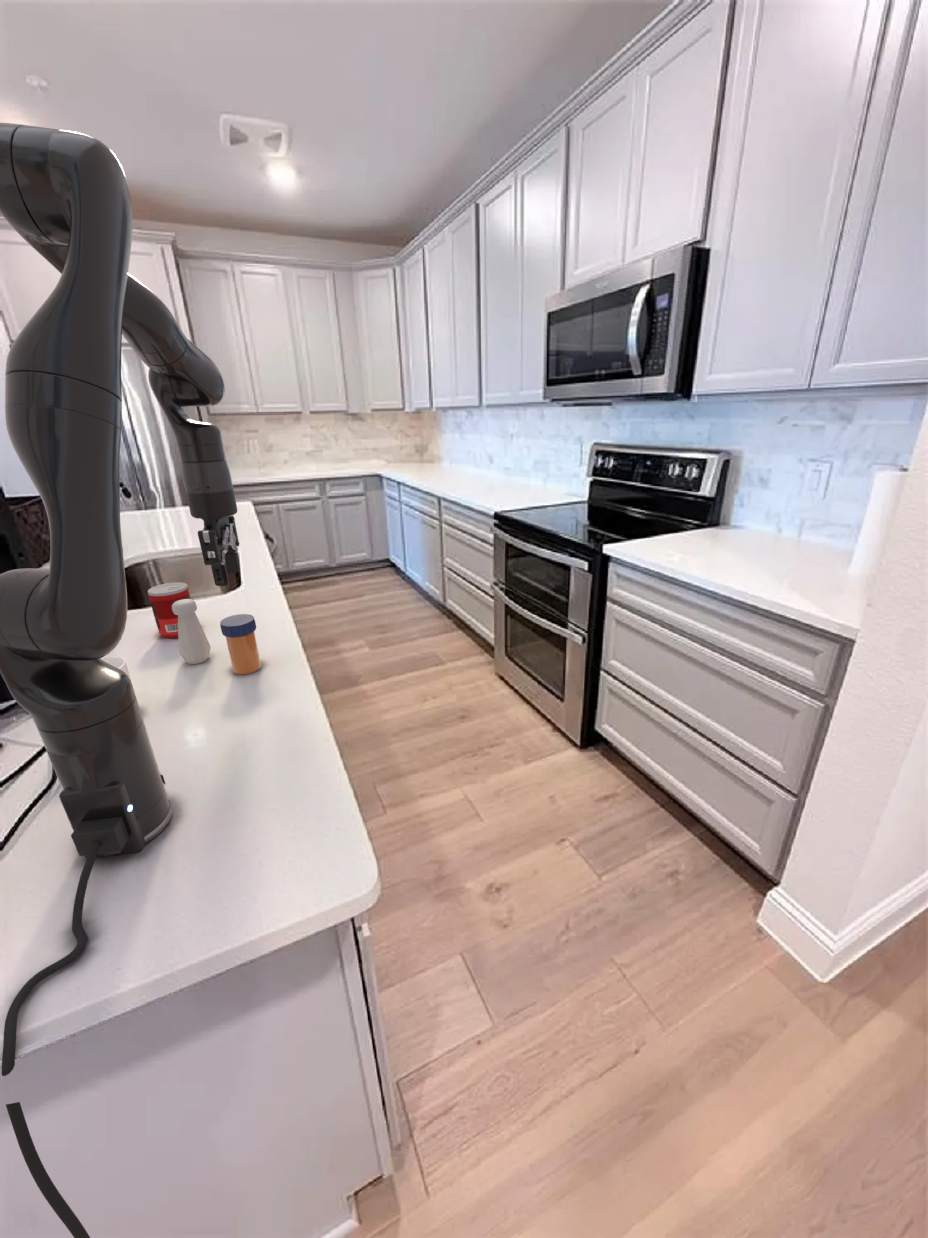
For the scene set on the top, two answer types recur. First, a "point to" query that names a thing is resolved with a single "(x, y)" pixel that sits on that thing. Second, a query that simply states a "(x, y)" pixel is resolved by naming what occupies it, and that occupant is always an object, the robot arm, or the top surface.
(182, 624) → the salt shaker
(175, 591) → the canned food
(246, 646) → the jar
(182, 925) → the top surface
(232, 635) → the lid
